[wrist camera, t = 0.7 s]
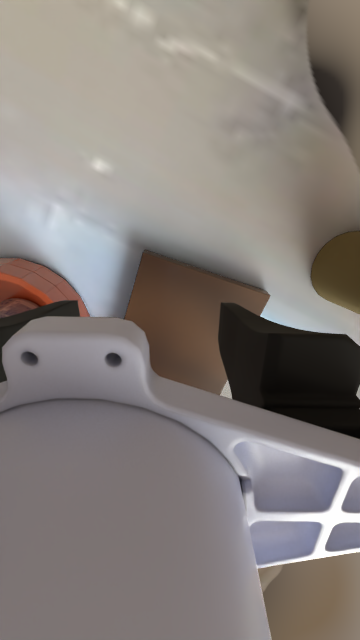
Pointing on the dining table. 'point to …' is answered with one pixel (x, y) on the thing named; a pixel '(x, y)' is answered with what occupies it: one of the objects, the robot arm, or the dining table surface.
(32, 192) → the dining table surface
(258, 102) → the dining table surface
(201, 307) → the board
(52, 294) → the bowl
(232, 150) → the dining table surface
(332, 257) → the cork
